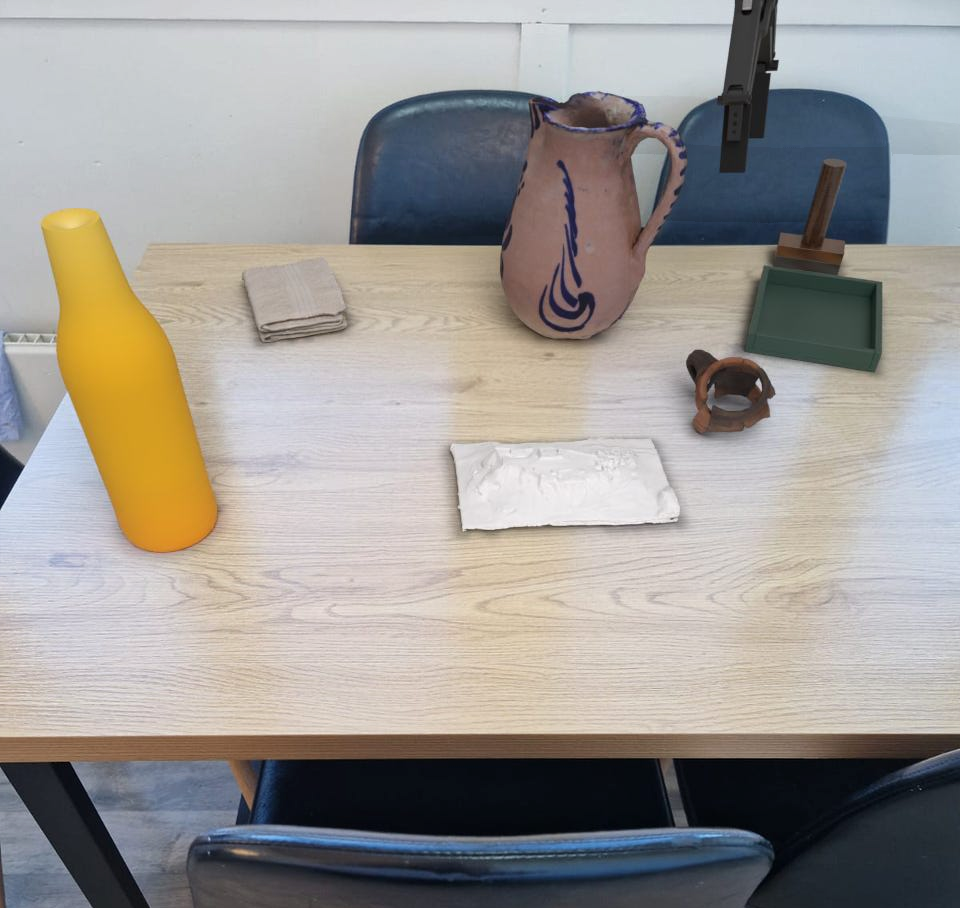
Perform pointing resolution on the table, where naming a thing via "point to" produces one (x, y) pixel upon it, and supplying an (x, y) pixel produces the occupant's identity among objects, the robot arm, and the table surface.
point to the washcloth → (295, 299)
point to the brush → (816, 229)
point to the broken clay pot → (728, 391)
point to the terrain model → (562, 484)
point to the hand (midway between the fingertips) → (742, 154)
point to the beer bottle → (126, 390)
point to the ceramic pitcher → (582, 214)
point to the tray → (817, 318)
